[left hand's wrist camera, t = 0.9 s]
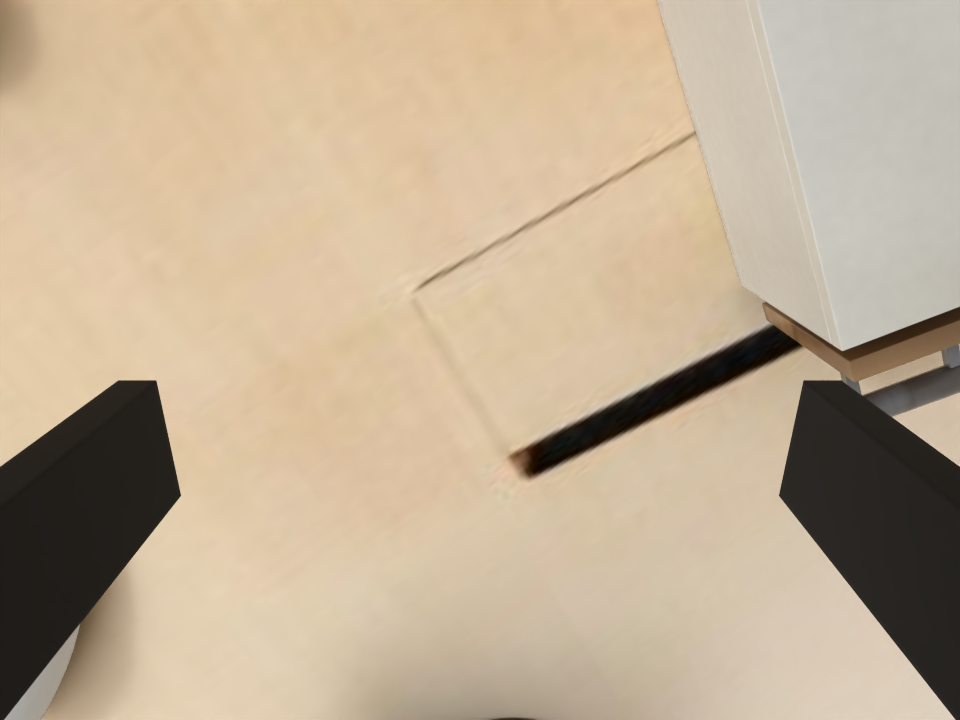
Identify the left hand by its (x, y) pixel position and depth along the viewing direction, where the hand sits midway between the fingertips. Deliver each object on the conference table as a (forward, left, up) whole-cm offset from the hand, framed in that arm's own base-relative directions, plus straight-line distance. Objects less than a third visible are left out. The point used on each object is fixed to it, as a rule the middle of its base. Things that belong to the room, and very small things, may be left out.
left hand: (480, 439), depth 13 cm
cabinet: (+10, -15, -26) cm, 32 cm away
